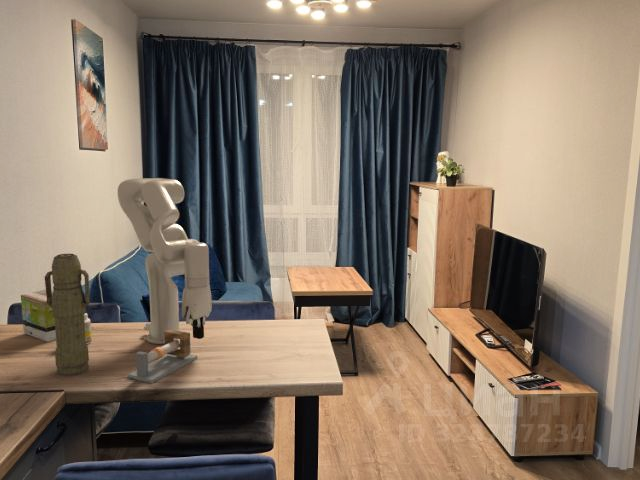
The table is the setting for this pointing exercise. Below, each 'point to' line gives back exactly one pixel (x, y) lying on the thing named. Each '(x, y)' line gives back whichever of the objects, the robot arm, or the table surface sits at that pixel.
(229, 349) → the table surface
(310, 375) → the table surface
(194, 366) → the table surface
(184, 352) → the collar
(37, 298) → the tea box
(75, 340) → the thermos
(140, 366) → the pipe stand
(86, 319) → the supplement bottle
